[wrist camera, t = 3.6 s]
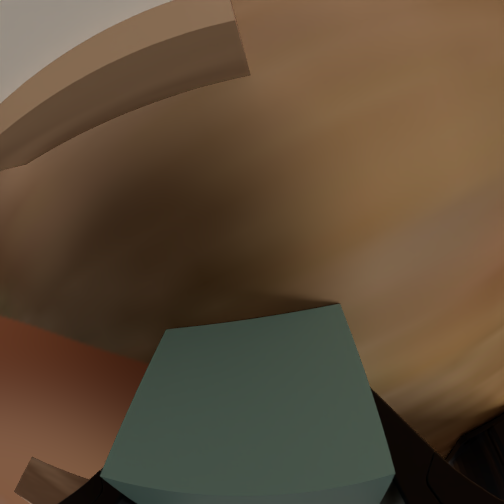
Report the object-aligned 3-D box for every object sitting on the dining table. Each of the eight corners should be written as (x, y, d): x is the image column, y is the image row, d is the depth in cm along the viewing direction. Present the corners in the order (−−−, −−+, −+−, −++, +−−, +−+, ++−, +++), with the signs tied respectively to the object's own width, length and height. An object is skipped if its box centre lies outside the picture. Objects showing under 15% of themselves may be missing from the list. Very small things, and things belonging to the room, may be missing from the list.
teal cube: (343, 411, 9) (364, 529, 5) (214, 425, 10) (195, 536, 5) (339, 303, 7) (395, 473, 3) (165, 329, 8) (100, 476, 3)
